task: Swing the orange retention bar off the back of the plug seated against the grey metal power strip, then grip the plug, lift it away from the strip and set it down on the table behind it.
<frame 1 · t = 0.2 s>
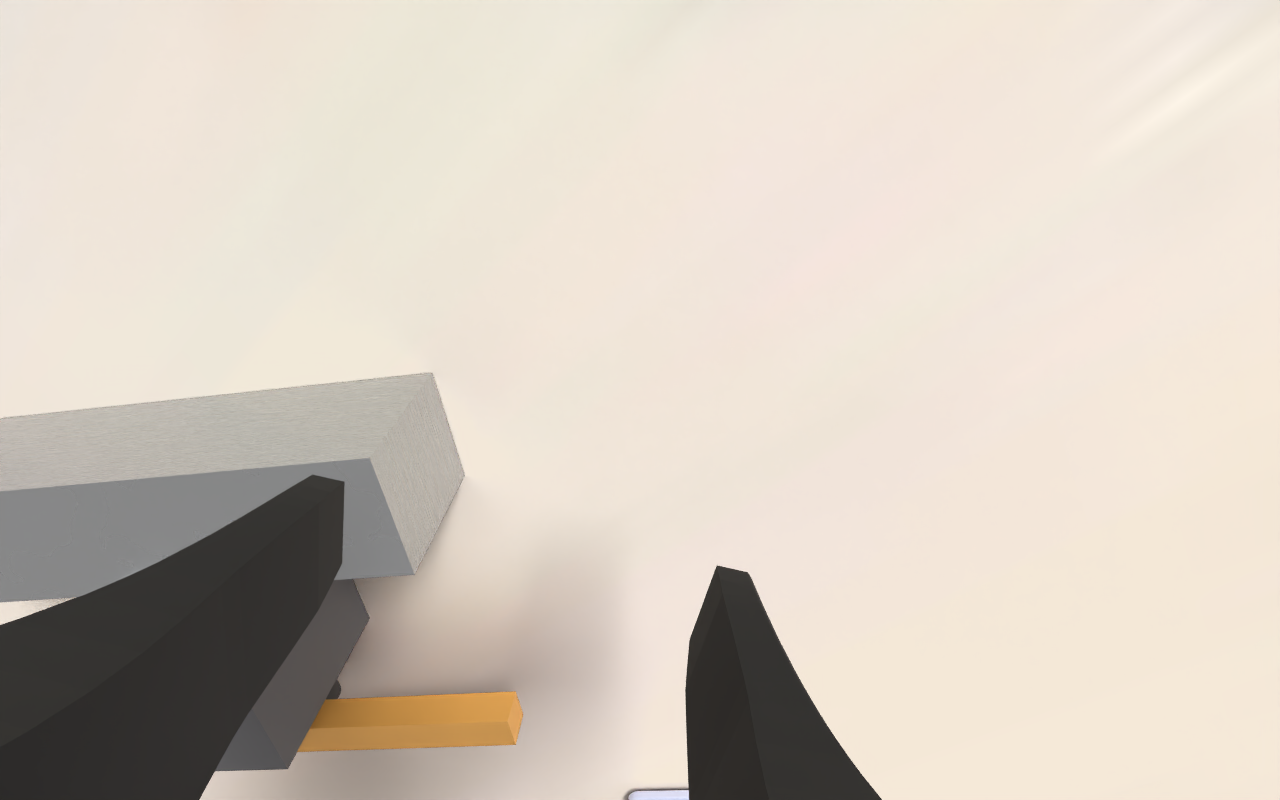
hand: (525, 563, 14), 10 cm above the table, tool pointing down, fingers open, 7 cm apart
plug: (289, 564, 28), on the table
socket: (231, 446, 25), on the table
clip: (275, 730, 26), point 4 cm above the table, hinge at 0.0°
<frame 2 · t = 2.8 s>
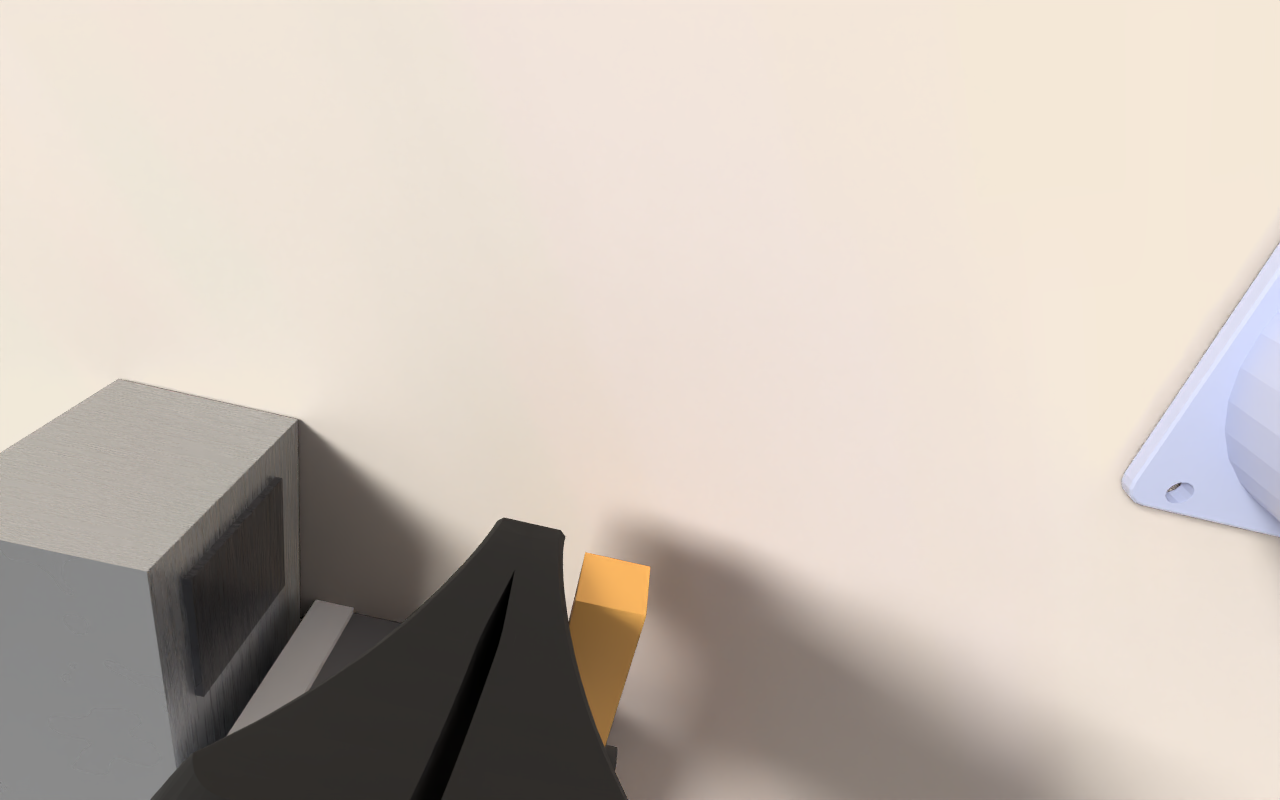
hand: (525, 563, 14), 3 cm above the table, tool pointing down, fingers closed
plug: (421, 685, 20), on the table
socket: (228, 645, 20), on the table
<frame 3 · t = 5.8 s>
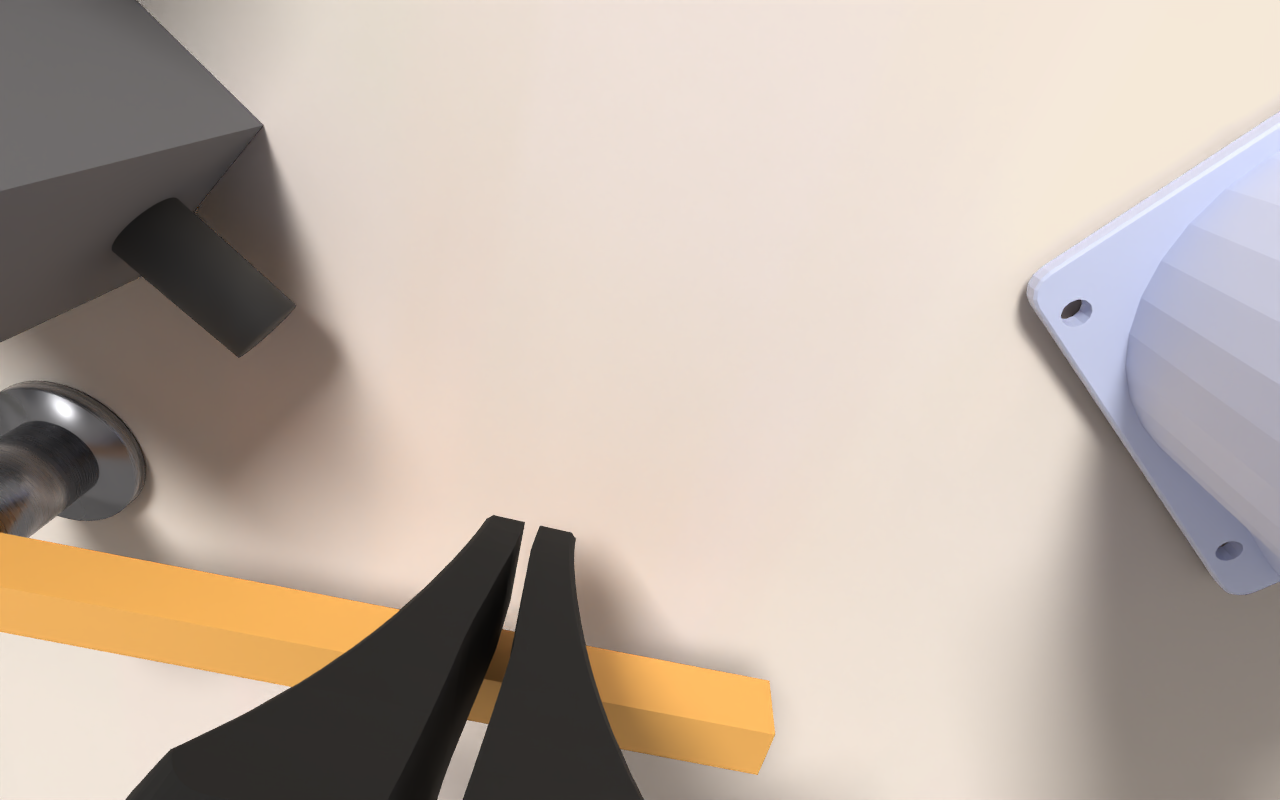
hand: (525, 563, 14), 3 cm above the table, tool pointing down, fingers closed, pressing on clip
plug: (57, 77, 13), on the table
clip: (300, 645, 13), point 4 cm above the table, hinge at 52.1°, touching gripper
lever handle base: (68, 449, 17), on the table
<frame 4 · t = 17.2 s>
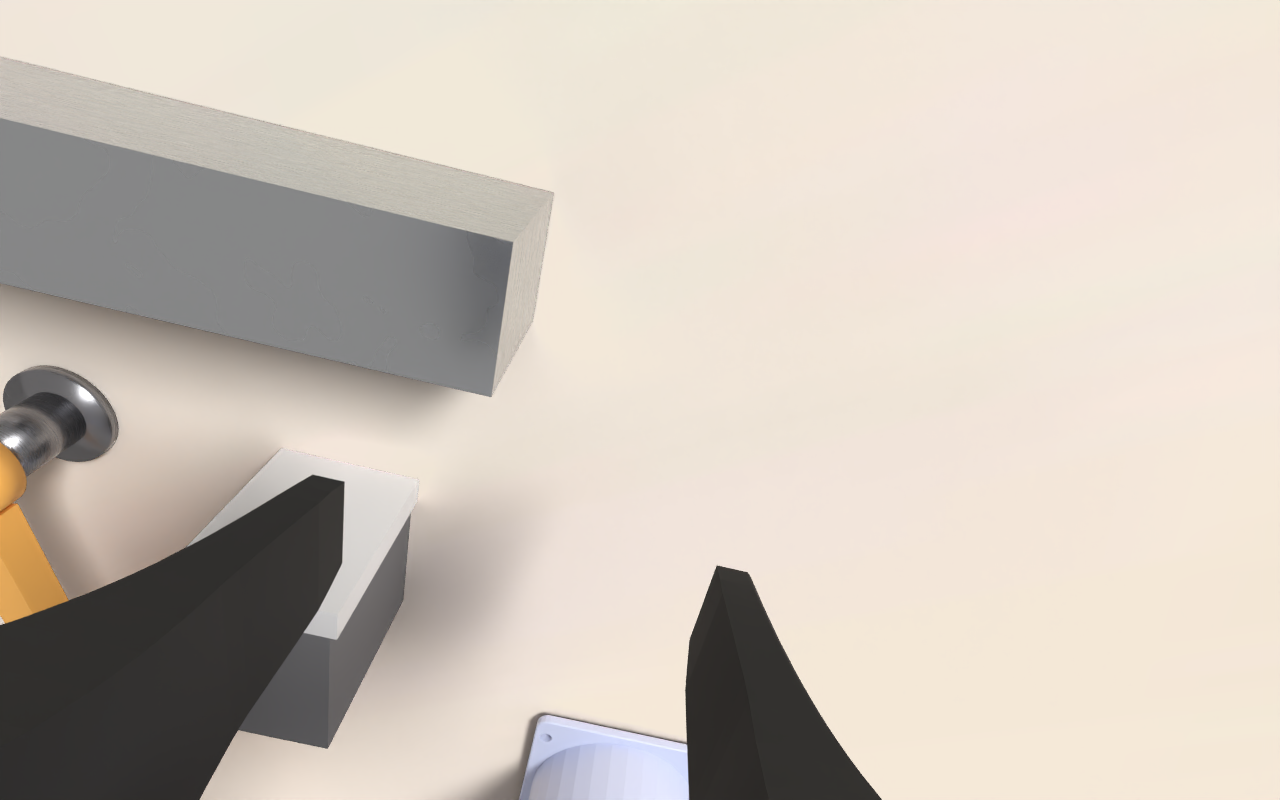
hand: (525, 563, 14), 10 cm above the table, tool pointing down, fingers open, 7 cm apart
plug: (348, 528, 27), on the table
socket: (273, 194, 21), on the table
clip: (59, 659, 25), point 4 cm above the table, hinge at 76.3°
lever handle base: (66, 412, 25), on the table
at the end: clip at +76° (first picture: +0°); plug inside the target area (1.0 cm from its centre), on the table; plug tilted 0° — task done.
